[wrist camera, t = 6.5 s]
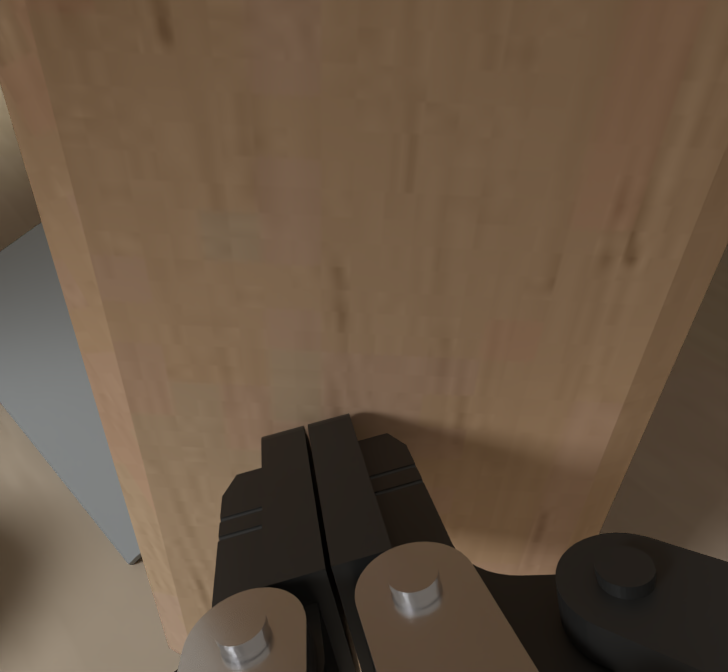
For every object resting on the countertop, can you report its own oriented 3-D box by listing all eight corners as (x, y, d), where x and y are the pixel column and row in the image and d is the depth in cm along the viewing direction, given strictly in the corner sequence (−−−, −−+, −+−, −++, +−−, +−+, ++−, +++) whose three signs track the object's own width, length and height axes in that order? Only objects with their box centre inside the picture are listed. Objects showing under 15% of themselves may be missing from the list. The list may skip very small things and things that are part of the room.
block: (160, 677, 16) (-338, -803, 4) (235, 409, 24) (149, -340, 12) (546, 695, 16) (1231, -718, 4) (491, 422, 24) (661, -313, 12)
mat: (-70, 310, 27) (-77, 306, 26) (211, 108, 31) (208, 102, 31) (132, 565, 22) (128, 563, 22) (430, 284, 26) (430, 279, 26)
